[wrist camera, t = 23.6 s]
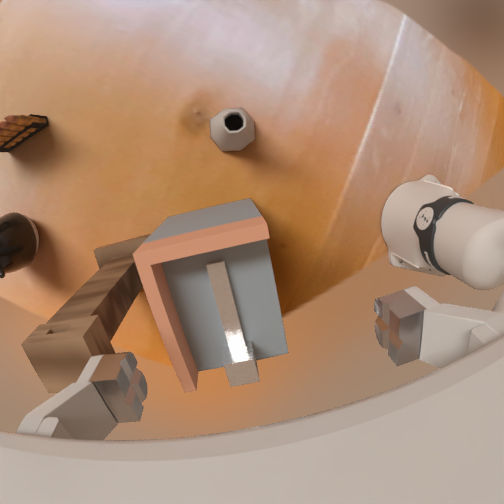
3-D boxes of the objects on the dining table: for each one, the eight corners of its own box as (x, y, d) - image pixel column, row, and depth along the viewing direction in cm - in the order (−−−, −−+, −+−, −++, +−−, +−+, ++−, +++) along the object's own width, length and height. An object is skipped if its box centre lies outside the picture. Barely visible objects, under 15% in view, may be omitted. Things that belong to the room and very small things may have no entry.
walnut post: (172, 276, 52) (128, 388, 25) (111, 290, 52) (36, 392, 24) (159, 231, 50) (92, 312, 22) (96, 248, 49) (0, 328, 22)
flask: (262, 142, 47) (271, 138, 37) (218, 158, 47) (217, 158, 38) (246, 101, 45) (251, 86, 35) (202, 117, 45) (196, 106, 36)
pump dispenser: (38, 271, 49) (-6, 304, 35) (3, 243, 47) (-45, 268, 33) (54, 227, 48) (6, 251, 33) (17, 199, 45) (-35, 214, 31)
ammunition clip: (8, 152, 42) (-32, 155, 31) (6, 143, 42) (-34, 145, 30) (48, 124, 42) (9, 120, 31) (46, 116, 42) (7, 109, 30)
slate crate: (271, 299, 55) (288, 353, 39) (196, 315, 54) (187, 373, 39) (250, 198, 49) (262, 216, 34) (168, 217, 49) (142, 243, 33)
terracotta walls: (288, 353, 39) (294, 371, 35) (187, 373, 39) (184, 392, 35) (262, 216, 34) (266, 223, 30) (142, 243, 33) (132, 254, 29)
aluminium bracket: (256, 361, 39) (259, 381, 35) (230, 367, 39) (230, 386, 35) (230, 257, 35) (231, 269, 31) (199, 264, 34) (196, 277, 31)
